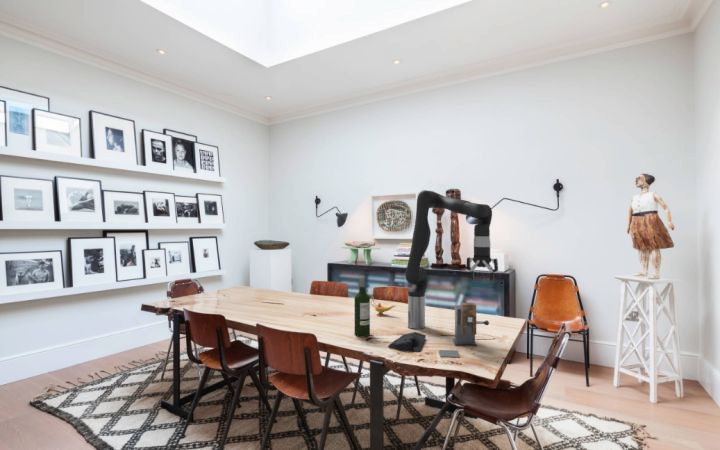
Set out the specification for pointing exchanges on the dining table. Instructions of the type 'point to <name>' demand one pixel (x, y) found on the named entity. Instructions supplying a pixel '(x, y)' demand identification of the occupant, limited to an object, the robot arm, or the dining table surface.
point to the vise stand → (466, 338)
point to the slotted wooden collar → (468, 310)
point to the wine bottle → (362, 311)
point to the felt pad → (449, 353)
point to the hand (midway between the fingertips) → (482, 279)
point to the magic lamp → (381, 308)
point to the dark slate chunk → (409, 342)
